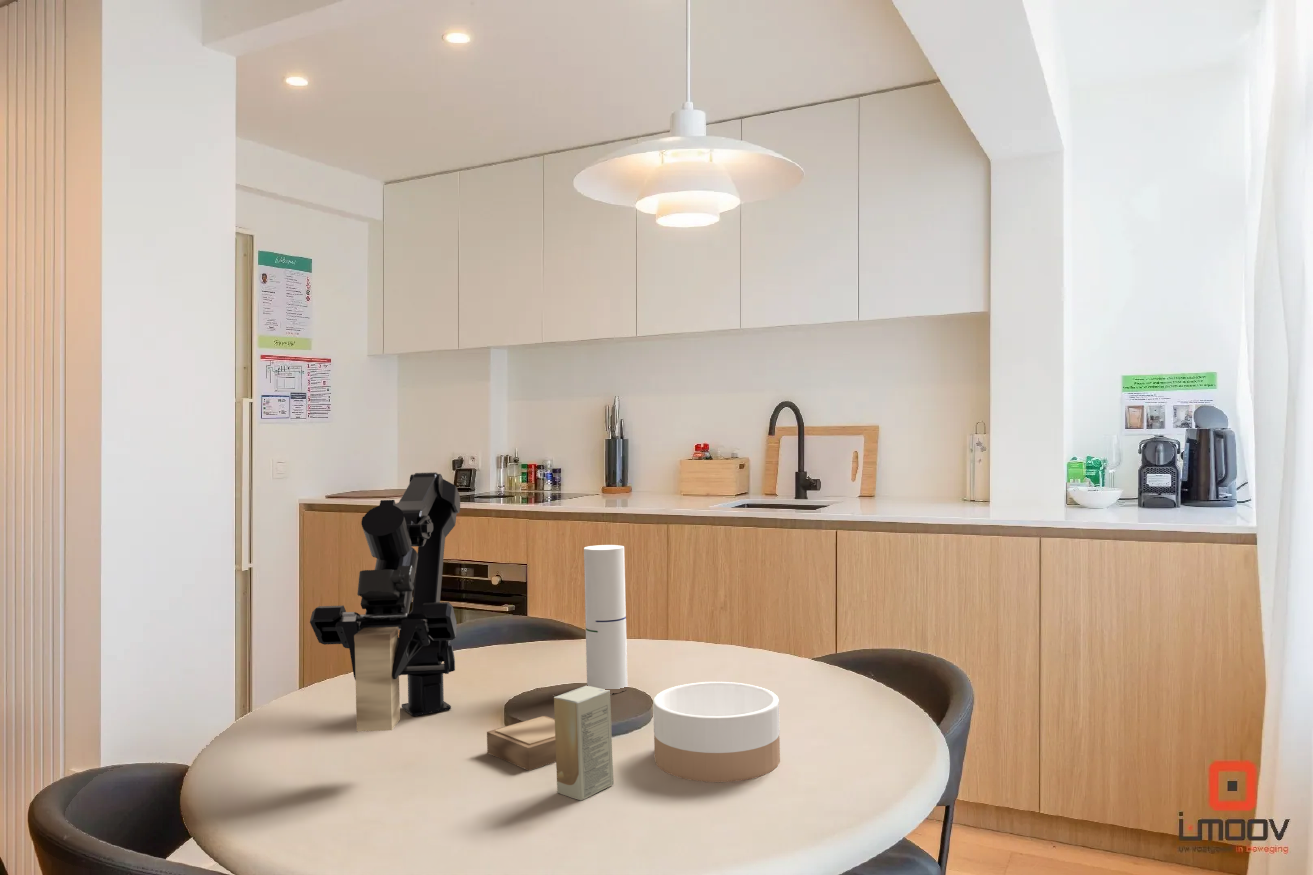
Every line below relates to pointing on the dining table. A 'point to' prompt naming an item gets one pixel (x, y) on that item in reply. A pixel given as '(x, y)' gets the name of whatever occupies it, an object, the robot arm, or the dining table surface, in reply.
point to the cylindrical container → (605, 616)
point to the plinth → (525, 743)
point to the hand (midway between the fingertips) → (374, 678)
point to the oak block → (376, 679)
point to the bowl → (716, 731)
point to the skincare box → (583, 742)
